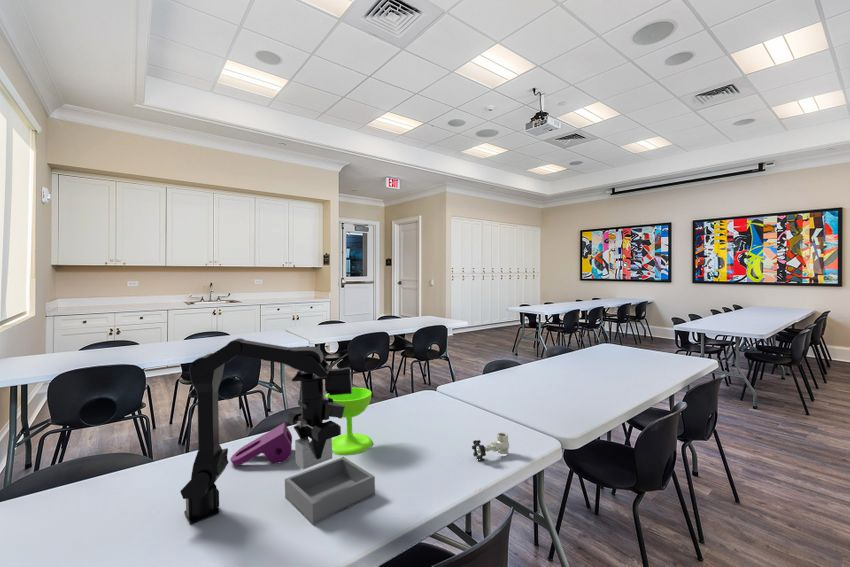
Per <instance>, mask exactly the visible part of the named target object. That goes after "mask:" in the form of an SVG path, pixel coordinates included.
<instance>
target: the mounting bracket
mask: <svg viewBox="0 0 850 567" xmlns="http://www.w3.org/2000/svg"><path fill="white" fill-rule="evenodd" d="M292 444H293V435H292V433H291V431H290V429H289V427H288V426H287V424H286V422H283V423H281V424H279V425H277V426H276V427H274V428H273V429H270V430H269V431H267V432H265V433H264V434H261V435H260V436H258V437H257V438H255V439H254V440H252V441H250V442H248V443H247V444H245V445H243V446H242V447H240V448H239V449H238V450H236V452H234V454H232V456H231V457H230V462H231V464H232V465H233V466H234V467H239V466H242V465H243V464H245V463H247V462H249V461H250V460H252V459H254V458H256V457H257V456H259V455H261V454H263V455H264V456H265V459H266V460H267V461H268V462H270V463H271V464H274V463H275V464H280V463H279V462H281V463H284V462H286V461H287V460H288V459H289V458H290V456H291V454H292V448H293V446H292Z"/></svg>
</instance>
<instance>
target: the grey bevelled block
mask: <svg viewBox="0 0 850 567" xmlns="http://www.w3.org/2000/svg"><path fill="white" fill-rule="evenodd" d="M332 439H333V438H330V439H327V440H326V442H325V445H324V449H323V452H322V456H321V458H320V459H318V460H317V459H316V457H315V455H314V452H313V449H312V447H311V444H310V441H309V439H308V436H307V437H304V438H301V439H300V438H299V439H295V440H294V444H295V445H294V446H295V447H294V449H295V450H294V451H295V464H296V465H297V466H298V467H300V468H301V469H302V470H307V469H308V468H311V467H314V466H316V465H319V464H321V463H324V462H327V461H330V460H332V459H333V453H332Z"/></svg>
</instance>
